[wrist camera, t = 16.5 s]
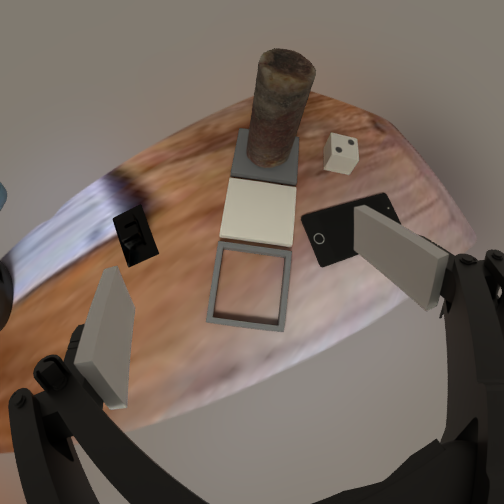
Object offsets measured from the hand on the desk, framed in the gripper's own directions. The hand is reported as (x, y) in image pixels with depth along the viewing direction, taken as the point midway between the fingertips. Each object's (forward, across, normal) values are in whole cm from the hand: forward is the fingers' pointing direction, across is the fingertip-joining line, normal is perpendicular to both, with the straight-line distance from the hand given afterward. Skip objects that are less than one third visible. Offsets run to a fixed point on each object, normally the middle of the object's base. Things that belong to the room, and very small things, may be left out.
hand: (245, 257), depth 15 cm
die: (+34, +25, -4) cm, 42 cm away
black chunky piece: (+31, -12, -9) cm, 35 cm away
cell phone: (+26, +23, -14) cm, 37 cm away
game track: (+29, +8, -10) cm, 31 cm away
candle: (+36, +12, -1) cm, 38 cm away
